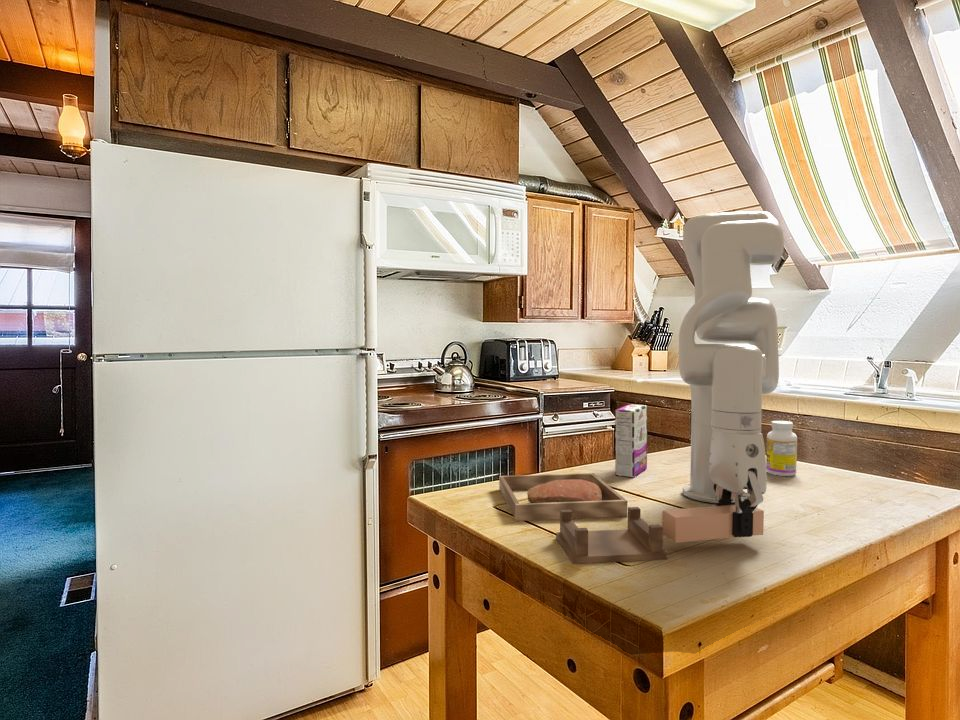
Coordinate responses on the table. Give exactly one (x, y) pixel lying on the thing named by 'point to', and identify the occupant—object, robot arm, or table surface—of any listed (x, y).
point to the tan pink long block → (704, 523)
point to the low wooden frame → (546, 511)
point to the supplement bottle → (781, 449)
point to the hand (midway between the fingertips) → (733, 529)
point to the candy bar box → (630, 440)
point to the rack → (611, 541)
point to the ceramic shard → (565, 491)
